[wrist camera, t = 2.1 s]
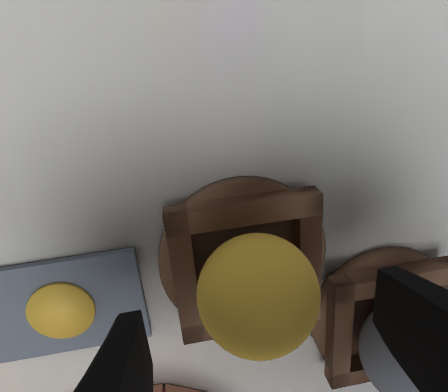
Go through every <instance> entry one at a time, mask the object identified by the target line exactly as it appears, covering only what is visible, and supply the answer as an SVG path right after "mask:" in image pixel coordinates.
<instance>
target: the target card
mask: <svg viewBox="0 0 448 392" xmlns="http://www.w3.org/2000/svg"><path fill="white" fill-rule="evenodd" d="M136 310H141V312H142V316H143V321H144V326H145V330H146V335H147V337H150V336H151V326H150V321H149V316H148V312H147V307H146V302H145V297H144V292H143V287H142V283H141V278H140V273H139V268H138V263H137V258H136V253H135V249H134V247H131V248H124V249H117V250H111V251H104V252H98V253H91V254H84V255H78V256H71V257H65V258H58V259H51V260H45V261H38V262H31V263H25V264H18V265H12V266H5V267H0V363H5V362H11V361H16V360H22V359H28V358H33V357H39V356H44V355H50V354H55V353H61V352H67V351H72V350H78V349H83V348H89V347H94V346H100V345H102V344H103V342H104V340H105V338H106V336H107V334H108V332H109V331H110V329H111V327H112V325H113V323H114V321H115V319H116V317H117V316H118V315H119V313H125V312H130V311H136Z"/></svg>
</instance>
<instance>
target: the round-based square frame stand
mask: <svg viewBox="0 0 448 392" xmlns="http://www.w3.org/2000/svg"><path fill="white" fill-rule="evenodd" d="M322 218H323V193H322V192H321V191H320V190H318V189H317V188H316V187H315V186H307V187H299V188H292V189H291V188H290V187H288V186H286V185H284V184H282V183H280V182H277V181H274V180H271V179H268V178H263V177H255V176H241V177H233V178H228V179H223V180H220V181H217V182H214V183H212V184H210V185H208V186H206V187H203V188H202V189H200V190H199V191H197V192H195V193H194V194H192V195H191V196H190V197H189V198H188V199H186V200H185V201H184V202H183V203H182V204H178V205H171V206H164V207H163V221H164V227H165V229H164V232H163V235H162V238H161V243H160V248H159V271H160V277H161V281H162V285H163V287H164V289H165V292H166V294H167V295H168V297H169V298H170V300H171V301H172V303H173V304H174V305H175V306H176V307H177V308H178V312H179V318H180V324H181V330H182V336H183V342H184V345H186V344H191V343H197V342H202V341H208V340H213V338H212V337H211V336H210V335H209V333H208V332H207V330H206V328H205V327H204V325H203V323H202V320H201V318H200V315H199V311H198V306H197V284H198V280H199V276H200V273H201V271H202V268H203V266H204V264H205V262H206V261H207V259H208V258H209V257H210V255H211V254H212V253H213V252H214V251H215V250H216V249H217V248H218V247H219V246H220V245H222V244H223V243H224V242H226V241H228V240H230V239H232V238H234V237H236V236H239V235H243V234H248V233H266V234H272V235H275V236H278V237H280V238H283V239H285V240H287V241H289V242H290V243H292V244H293V245H294V246H296V247H297V248H298V249H299V250H300V251H301V252H302V253H303V254H304V255H305V256H306V257H307V259H308V260H309V262H310V263H311V265H312V267H313V268H314V270H315V273H316V275H317V278H318V282H319V286H320V295H321V270H322V267H323V263H324V259H325V250H326V246H325V236H324V231H323V228H322ZM320 313H321V301H320V311H319V315H318V318H317V320H320Z"/></svg>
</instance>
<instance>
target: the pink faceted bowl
mask: <svg viewBox="0 0 448 392" xmlns="http://www.w3.org/2000/svg"><path fill="white" fill-rule="evenodd" d="M153 392H204V391H199V390H194V389H189V388H184V387H179V386H174V385H169V384H165V386H164V388H163V384H158V385H153Z"/></svg>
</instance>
